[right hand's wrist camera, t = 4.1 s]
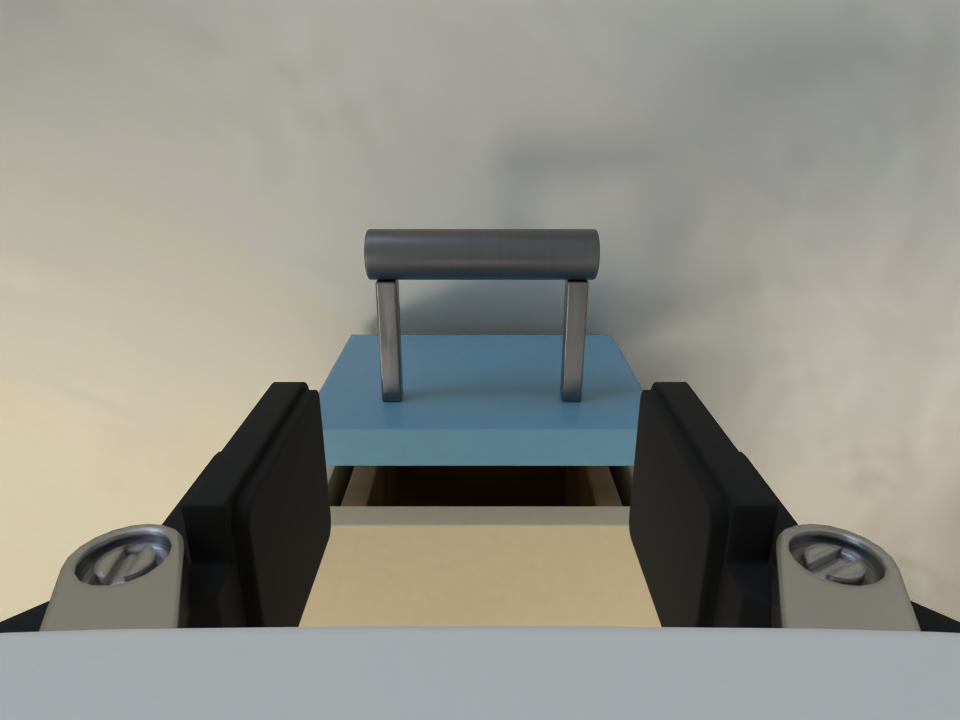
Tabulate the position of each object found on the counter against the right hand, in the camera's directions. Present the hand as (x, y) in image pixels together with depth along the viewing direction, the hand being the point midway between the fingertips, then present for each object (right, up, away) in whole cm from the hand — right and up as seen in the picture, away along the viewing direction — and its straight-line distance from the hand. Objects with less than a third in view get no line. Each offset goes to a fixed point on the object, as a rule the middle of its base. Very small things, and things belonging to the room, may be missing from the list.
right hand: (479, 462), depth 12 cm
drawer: (0, -4, +17) cm, 18 cm away
